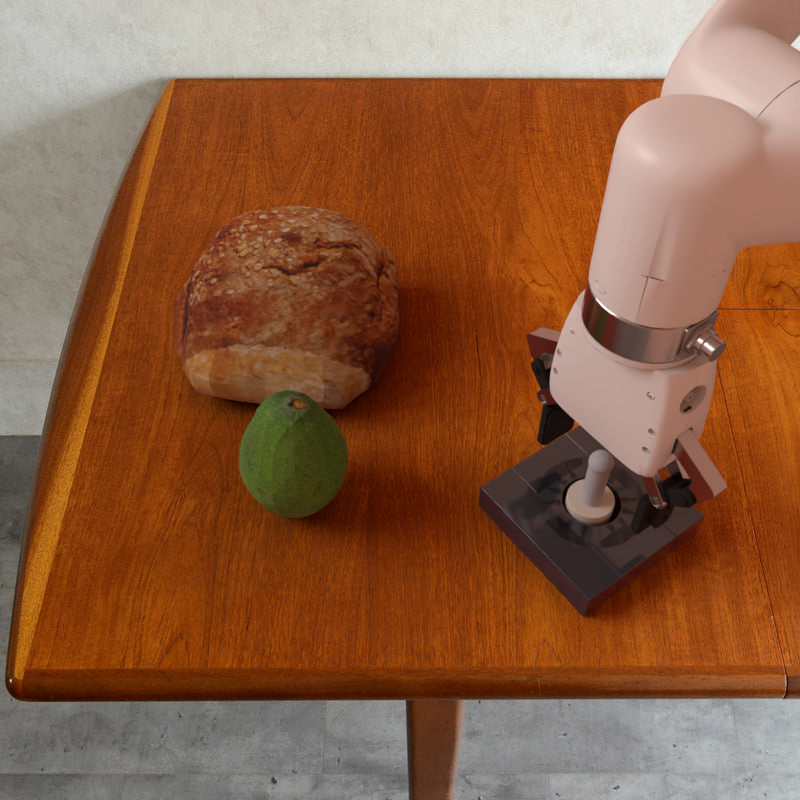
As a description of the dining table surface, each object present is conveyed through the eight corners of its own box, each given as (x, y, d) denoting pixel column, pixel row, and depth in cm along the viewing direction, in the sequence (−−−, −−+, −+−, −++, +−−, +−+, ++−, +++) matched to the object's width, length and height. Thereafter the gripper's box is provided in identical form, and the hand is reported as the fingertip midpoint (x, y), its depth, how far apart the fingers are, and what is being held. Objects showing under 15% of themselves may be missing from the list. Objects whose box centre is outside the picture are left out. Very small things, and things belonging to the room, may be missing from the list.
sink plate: (588, 435, 75) (593, 416, 73) (697, 533, 69) (705, 515, 67) (477, 505, 71) (480, 486, 69) (583, 617, 64) (589, 600, 62)
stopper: (585, 493, 71) (603, 427, 65) (617, 524, 69) (639, 459, 63) (551, 515, 70) (567, 450, 64) (583, 547, 68) (602, 483, 62)
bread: (404, 283, 88) (404, 199, 80) (391, 427, 76) (390, 344, 68) (198, 274, 89) (179, 190, 81) (153, 415, 77) (126, 332, 69)
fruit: (293, 441, 75) (279, 340, 66) (369, 486, 72) (365, 387, 63) (228, 506, 71) (202, 408, 61) (305, 557, 68) (291, 462, 58)
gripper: (809, 366, 50) (725, 532, 63) (590, 210, 59) (557, 383, 72) (718, 428, 47) (650, 589, 60) (503, 254, 56) (485, 426, 69)
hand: (599, 476), depth 66 cm, fingers open, 9 cm apart
